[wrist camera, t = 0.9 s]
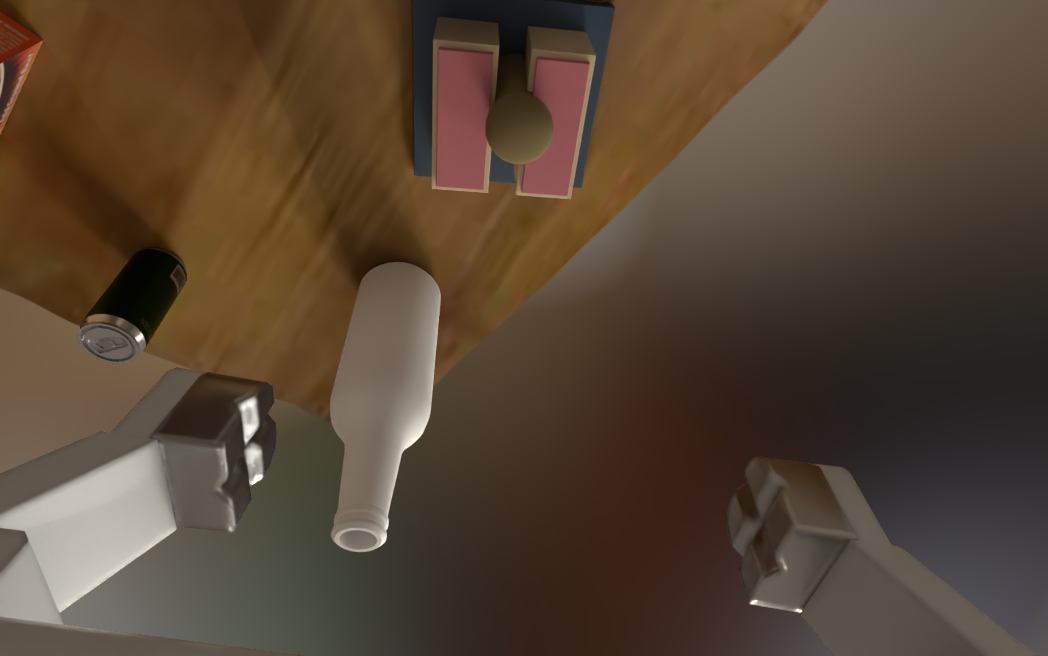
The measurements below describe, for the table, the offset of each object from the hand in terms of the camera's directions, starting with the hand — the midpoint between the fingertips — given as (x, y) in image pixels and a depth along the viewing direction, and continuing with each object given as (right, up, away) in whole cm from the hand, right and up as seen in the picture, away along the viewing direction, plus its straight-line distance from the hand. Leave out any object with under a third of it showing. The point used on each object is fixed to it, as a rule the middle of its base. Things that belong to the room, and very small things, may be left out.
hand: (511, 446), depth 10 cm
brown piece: (-1, +23, +43) cm, 49 cm away
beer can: (-38, +9, +54) cm, 66 cm away
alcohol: (-13, +6, +57) cm, 59 cm away
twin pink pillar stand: (-1, +23, +43) cm, 49 cm away
